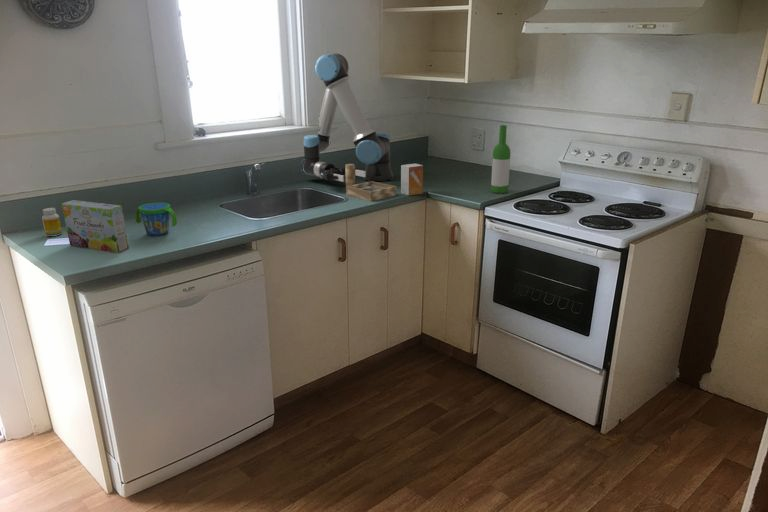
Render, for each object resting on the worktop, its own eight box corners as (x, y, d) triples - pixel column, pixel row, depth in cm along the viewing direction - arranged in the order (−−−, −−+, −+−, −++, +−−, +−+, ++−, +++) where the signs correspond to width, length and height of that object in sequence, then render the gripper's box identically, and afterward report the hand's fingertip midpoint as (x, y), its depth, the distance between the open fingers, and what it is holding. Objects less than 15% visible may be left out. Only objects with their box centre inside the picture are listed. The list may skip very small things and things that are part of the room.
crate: (371, 189, 277) (371, 181, 276) (396, 195, 266) (396, 186, 265) (346, 195, 266) (346, 186, 265) (370, 201, 256) (370, 192, 254)
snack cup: (185, 231, 214) (182, 204, 211) (165, 239, 205) (161, 211, 202) (151, 227, 220) (147, 200, 216) (130, 235, 211) (125, 207, 207)
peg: (351, 188, 279) (350, 163, 275) (357, 190, 276) (356, 164, 272) (343, 190, 276) (343, 164, 272) (350, 191, 273) (349, 166, 269)
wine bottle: (511, 192, 269) (515, 126, 259) (496, 194, 266) (500, 126, 256) (501, 189, 276) (505, 124, 266) (487, 190, 273) (491, 125, 263)
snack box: (68, 246, 199) (60, 203, 194) (81, 241, 204) (73, 199, 199) (117, 253, 192) (110, 208, 187) (130, 248, 197) (123, 204, 192)
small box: (408, 196, 264) (408, 167, 260) (400, 193, 269) (400, 165, 265) (423, 193, 268) (423, 165, 264) (414, 191, 274) (415, 163, 269)
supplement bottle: (43, 235, 211) (38, 209, 208) (59, 232, 215) (54, 206, 212) (48, 238, 208) (43, 211, 204) (64, 235, 211) (59, 209, 208)
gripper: (344, 174, 295) (374, 180, 281) (304, 181, 278) (334, 188, 264) (344, 159, 293) (373, 164, 278) (304, 166, 276) (333, 172, 262)
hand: (354, 176), depth 271 cm, fingers open, 13 cm apart
